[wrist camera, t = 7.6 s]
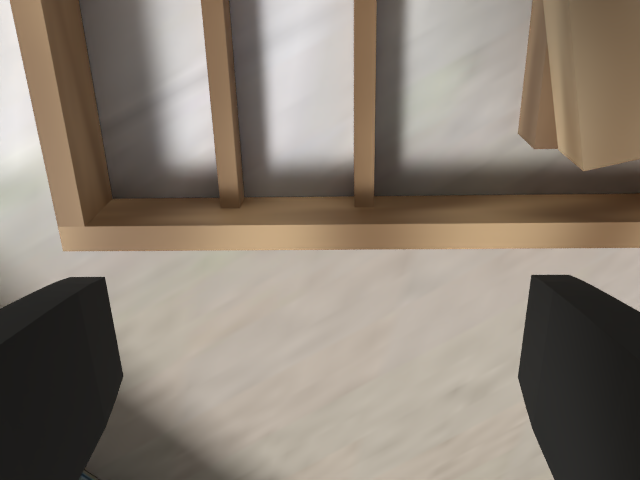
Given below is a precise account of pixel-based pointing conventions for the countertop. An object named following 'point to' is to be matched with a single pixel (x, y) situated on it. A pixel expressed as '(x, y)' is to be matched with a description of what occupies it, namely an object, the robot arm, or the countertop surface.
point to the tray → (232, 207)
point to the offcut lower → (537, 87)
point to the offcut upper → (595, 79)
